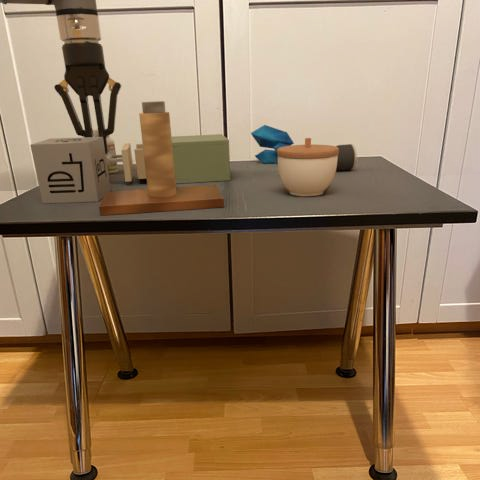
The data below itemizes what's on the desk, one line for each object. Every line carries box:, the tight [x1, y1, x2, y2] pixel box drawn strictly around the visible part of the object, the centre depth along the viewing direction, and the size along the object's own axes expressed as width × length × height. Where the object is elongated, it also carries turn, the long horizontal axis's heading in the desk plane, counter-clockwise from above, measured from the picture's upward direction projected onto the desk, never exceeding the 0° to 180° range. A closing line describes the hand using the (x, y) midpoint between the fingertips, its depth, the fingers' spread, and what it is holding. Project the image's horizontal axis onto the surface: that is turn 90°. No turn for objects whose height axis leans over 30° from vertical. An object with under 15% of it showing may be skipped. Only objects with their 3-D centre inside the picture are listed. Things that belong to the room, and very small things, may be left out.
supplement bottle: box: [92, 128, 119, 175], centre depth 113 cm, size 5×5×10 cm
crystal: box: [250, 124, 295, 165], centre depth 120 cm, size 7×9×12 cm
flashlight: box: [335, 143, 357, 172], centre depth 106 cm, size 15×5×5 cm, turn 102°
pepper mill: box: [138, 100, 177, 198], centre depth 80 cm, size 5×5×15 cm
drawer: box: [106, 142, 147, 183], centre depth 103 cm, size 18×11×6 cm, turn 99°
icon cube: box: [29, 136, 112, 204], centre depth 89 cm, size 10×10×10 cm
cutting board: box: [98, 184, 225, 216], centre depth 83 cm, size 20×12×2 cm, turn 99°
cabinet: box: [171, 133, 231, 185], centre depth 104 cm, size 15×13×8 cm
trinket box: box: [277, 137, 339, 197], centre depth 85 cm, size 11×11×9 cm
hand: (101, 170), depth 102 cm, fingers closed
